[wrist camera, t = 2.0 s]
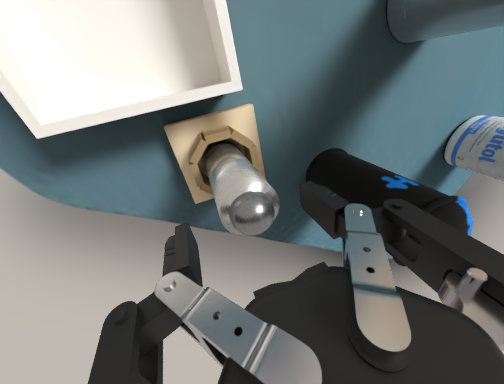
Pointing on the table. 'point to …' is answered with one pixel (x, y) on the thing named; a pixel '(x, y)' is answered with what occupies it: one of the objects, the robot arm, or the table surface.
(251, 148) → the socket base
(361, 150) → the table surface
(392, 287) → the robot arm
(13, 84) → the bin
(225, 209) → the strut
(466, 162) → the supplement tub
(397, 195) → the aerosol can
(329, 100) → the table surface
